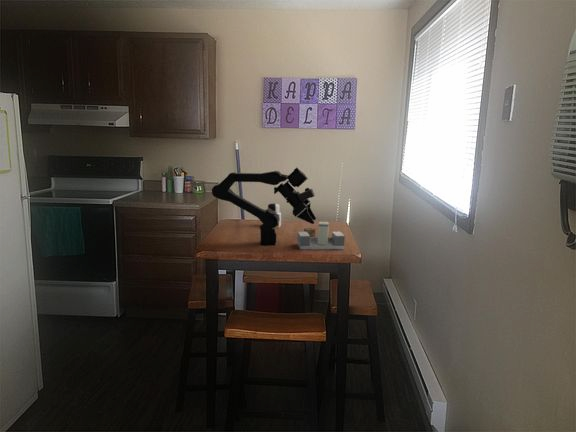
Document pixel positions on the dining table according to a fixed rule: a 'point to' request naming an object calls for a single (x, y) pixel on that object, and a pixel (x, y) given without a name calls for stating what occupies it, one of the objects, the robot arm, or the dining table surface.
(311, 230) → the walnut block
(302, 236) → the block
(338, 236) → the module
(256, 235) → the dining table surface
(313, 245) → the grey base plate
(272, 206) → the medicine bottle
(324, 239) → the block
